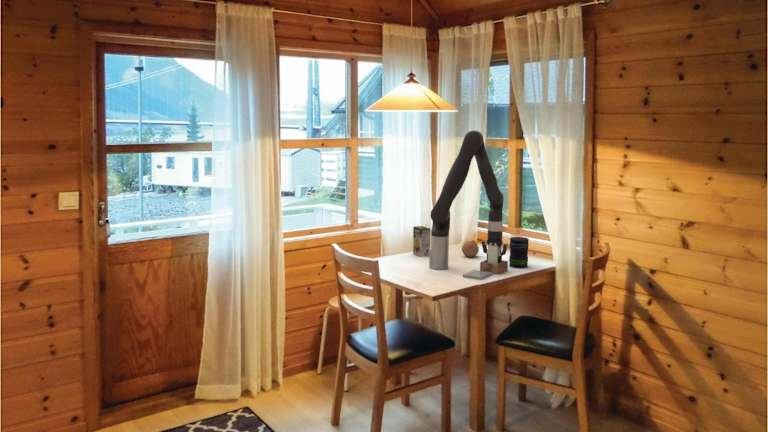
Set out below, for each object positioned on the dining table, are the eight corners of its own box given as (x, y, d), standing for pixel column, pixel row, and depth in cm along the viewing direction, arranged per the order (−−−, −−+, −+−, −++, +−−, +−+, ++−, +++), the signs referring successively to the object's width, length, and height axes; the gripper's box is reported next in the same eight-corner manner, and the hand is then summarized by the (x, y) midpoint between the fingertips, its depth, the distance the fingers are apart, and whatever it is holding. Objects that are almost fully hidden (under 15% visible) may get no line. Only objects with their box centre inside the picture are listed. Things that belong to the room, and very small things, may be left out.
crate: (480, 271, 339) (480, 262, 339) (488, 267, 348) (489, 258, 347) (499, 274, 334) (499, 264, 333) (507, 270, 342) (507, 261, 341)
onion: (474, 260, 379) (481, 244, 379) (475, 259, 369) (481, 243, 370) (459, 254, 380) (465, 238, 381) (459, 253, 371) (466, 236, 371)
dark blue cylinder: (531, 266, 352) (532, 238, 350) (520, 269, 345) (521, 241, 343) (516, 263, 359) (517, 236, 357) (505, 265, 353) (506, 238, 351)
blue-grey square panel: (462, 277, 328) (462, 274, 328) (474, 272, 339) (474, 269, 338) (481, 279, 323) (481, 277, 323) (491, 274, 333) (492, 272, 333)
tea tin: (487, 271, 340) (487, 245, 338) (491, 269, 344) (492, 244, 342) (496, 272, 337) (497, 246, 335) (500, 270, 342) (501, 245, 339)
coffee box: (412, 254, 382) (412, 226, 380) (422, 253, 385) (422, 225, 383) (420, 257, 374) (421, 229, 372) (430, 256, 377) (430, 228, 375)
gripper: (479, 229, 338) (478, 261, 341) (505, 232, 330) (504, 265, 333) (485, 227, 345) (484, 259, 347) (511, 229, 337) (510, 262, 339)
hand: (494, 261), depth 340 cm, fingers closed on tea tin, 5 cm apart
